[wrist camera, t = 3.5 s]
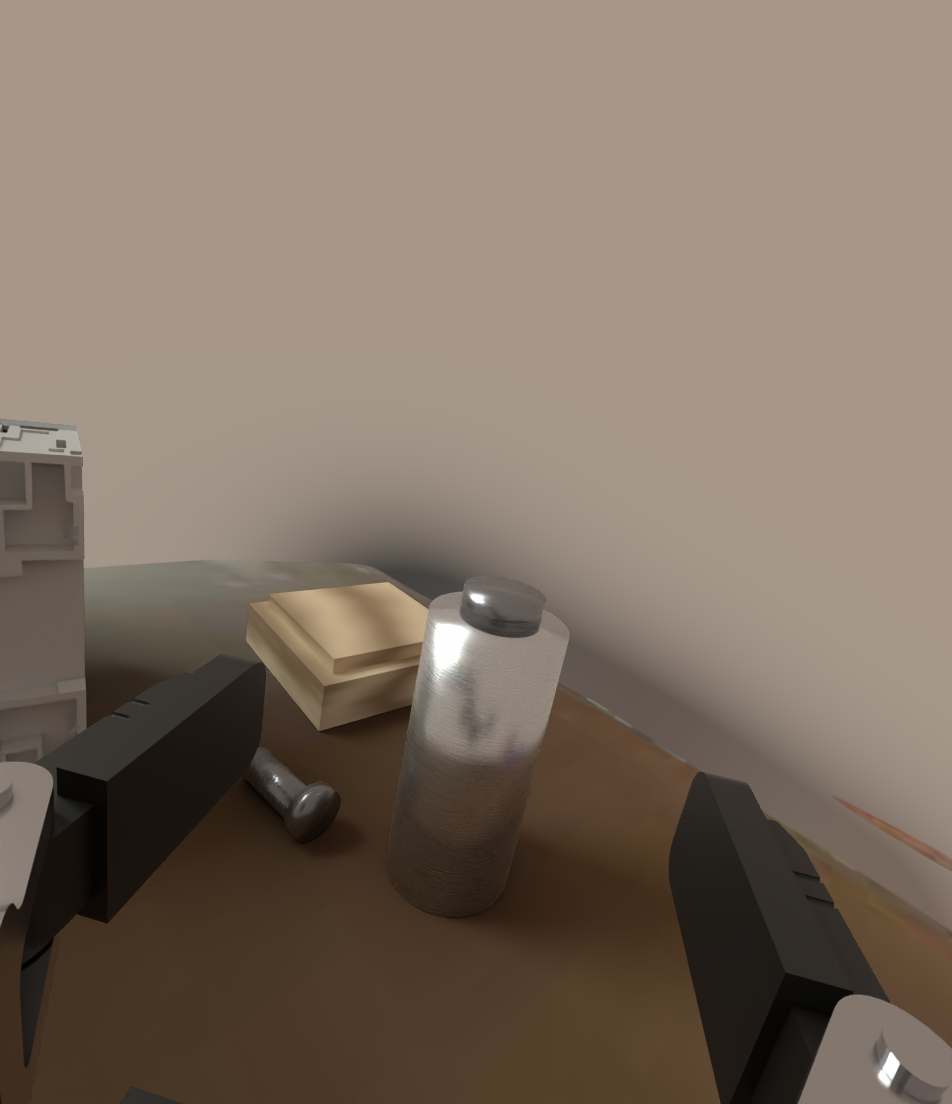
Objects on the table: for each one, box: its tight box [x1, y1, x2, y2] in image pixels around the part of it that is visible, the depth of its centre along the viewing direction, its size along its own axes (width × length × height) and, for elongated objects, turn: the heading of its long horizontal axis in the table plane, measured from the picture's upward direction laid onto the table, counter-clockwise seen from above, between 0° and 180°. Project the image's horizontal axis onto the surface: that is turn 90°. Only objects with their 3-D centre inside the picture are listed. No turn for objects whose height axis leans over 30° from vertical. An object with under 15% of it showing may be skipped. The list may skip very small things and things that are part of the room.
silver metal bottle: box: [386, 576, 569, 917], centre depth 23 cm, size 6×6×13 cm
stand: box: [246, 582, 429, 731], centre depth 39 cm, size 12×12×4 cm
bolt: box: [242, 747, 341, 842], centre depth 26 cm, size 5×2×2 cm, turn 52°
